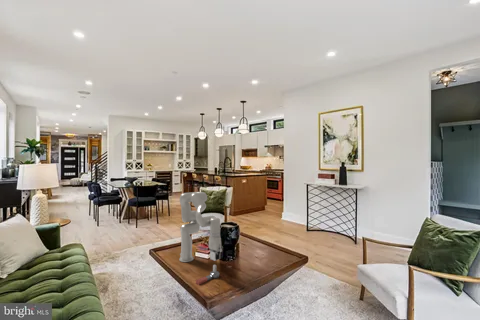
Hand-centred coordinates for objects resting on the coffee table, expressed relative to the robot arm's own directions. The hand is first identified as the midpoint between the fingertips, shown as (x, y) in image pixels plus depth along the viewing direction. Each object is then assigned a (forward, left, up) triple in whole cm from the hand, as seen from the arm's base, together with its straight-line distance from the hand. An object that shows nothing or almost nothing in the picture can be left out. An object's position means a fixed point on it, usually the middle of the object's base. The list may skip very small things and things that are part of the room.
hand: (215, 257), depth 190 cm
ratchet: (0, -6, -14) cm, 16 cm away
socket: (0, 0, -1) cm, 1 cm away
